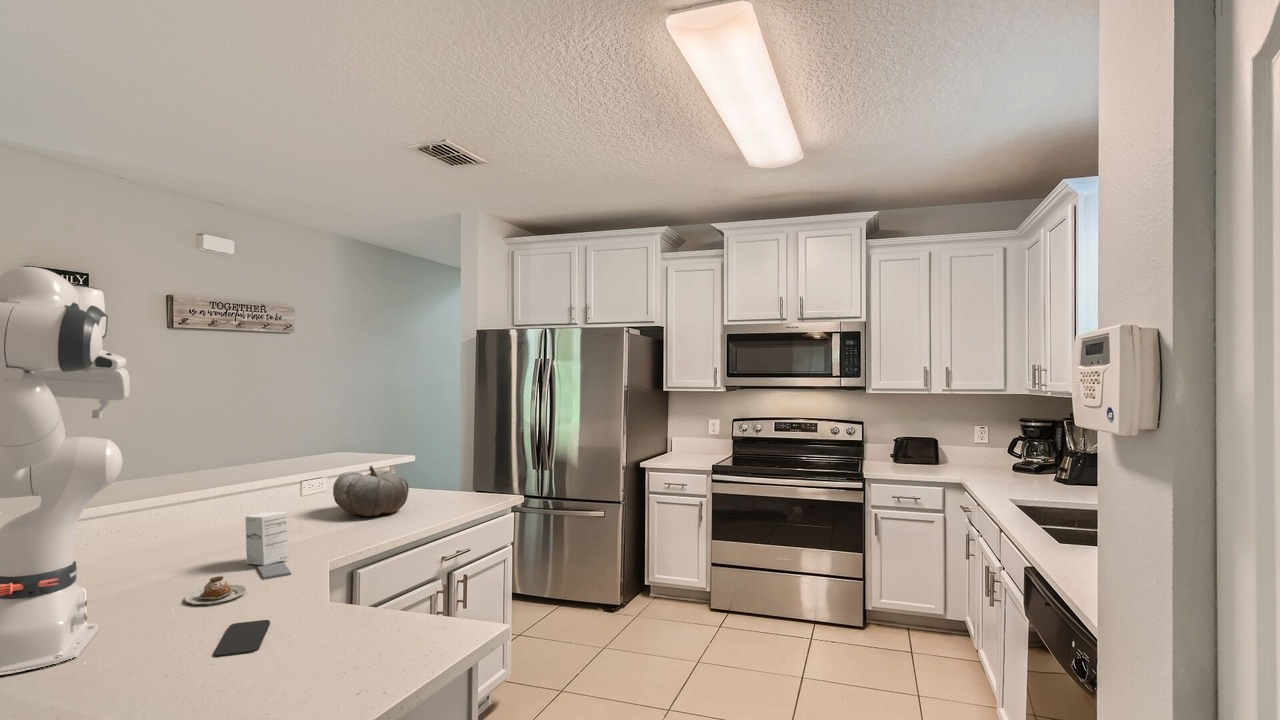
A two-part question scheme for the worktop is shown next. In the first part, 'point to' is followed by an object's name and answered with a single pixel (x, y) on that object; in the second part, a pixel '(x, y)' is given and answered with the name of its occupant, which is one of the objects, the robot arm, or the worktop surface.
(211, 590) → the pastry
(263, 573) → the slate mat
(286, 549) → the supplement box
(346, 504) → the gourd
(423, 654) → the worktop surface
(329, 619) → the worktop surface
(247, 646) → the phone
